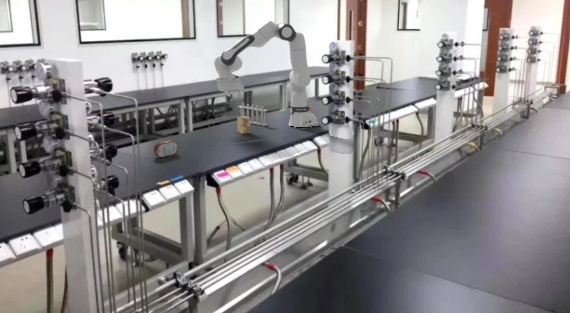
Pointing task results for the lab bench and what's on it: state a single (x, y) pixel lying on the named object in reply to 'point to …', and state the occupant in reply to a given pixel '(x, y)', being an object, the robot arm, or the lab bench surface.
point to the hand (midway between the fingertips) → (234, 96)
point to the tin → (165, 148)
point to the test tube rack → (253, 114)
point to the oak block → (243, 124)
